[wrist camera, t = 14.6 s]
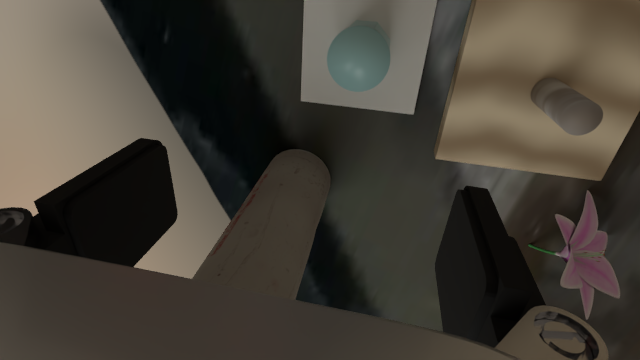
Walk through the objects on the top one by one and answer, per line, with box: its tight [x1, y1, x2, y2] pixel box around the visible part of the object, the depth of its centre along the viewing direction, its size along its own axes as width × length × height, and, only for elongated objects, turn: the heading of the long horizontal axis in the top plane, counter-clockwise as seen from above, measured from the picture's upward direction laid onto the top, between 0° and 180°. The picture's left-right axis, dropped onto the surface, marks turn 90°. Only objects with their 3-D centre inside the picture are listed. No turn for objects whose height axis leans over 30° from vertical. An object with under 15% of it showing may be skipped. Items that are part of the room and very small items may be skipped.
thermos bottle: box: [193, 149, 331, 300], centre depth 31 cm, size 8×8×28 cm
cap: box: [327, 20, 390, 92], centre depth 31 cm, size 5×5×6 cm
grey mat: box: [301, 0, 437, 115], centre depth 34 cm, size 12×12×1 cm
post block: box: [434, 0, 640, 181], centre depth 29 cm, size 16×16×9 cm
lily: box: [528, 190, 620, 320], centre depth 37 cm, size 12×12×10 cm
